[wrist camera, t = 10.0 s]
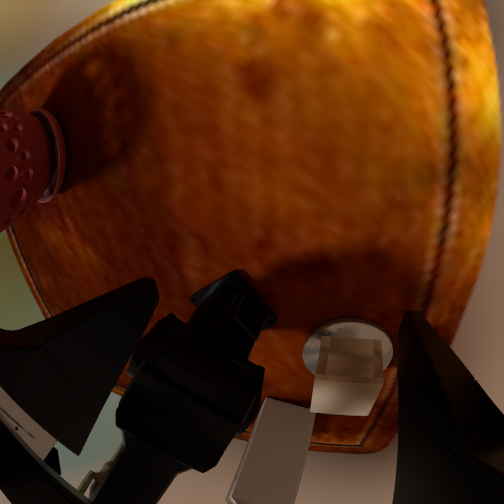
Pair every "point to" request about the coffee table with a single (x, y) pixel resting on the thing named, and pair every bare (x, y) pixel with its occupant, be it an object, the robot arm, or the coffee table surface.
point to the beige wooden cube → (347, 376)
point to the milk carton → (273, 455)
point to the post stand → (346, 329)
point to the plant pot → (29, 161)
